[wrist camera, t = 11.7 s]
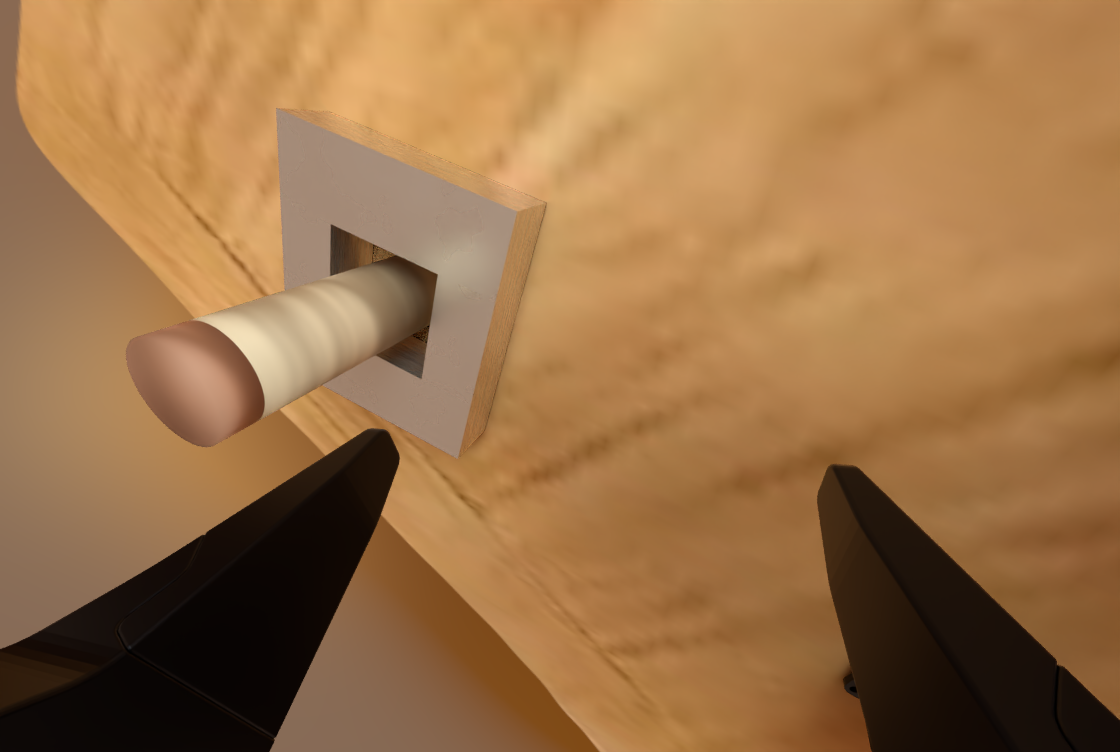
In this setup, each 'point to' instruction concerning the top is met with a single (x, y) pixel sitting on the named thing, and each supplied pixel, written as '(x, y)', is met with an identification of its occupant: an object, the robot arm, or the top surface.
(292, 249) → the square hole block
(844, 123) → the top surface
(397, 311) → the beech pin
